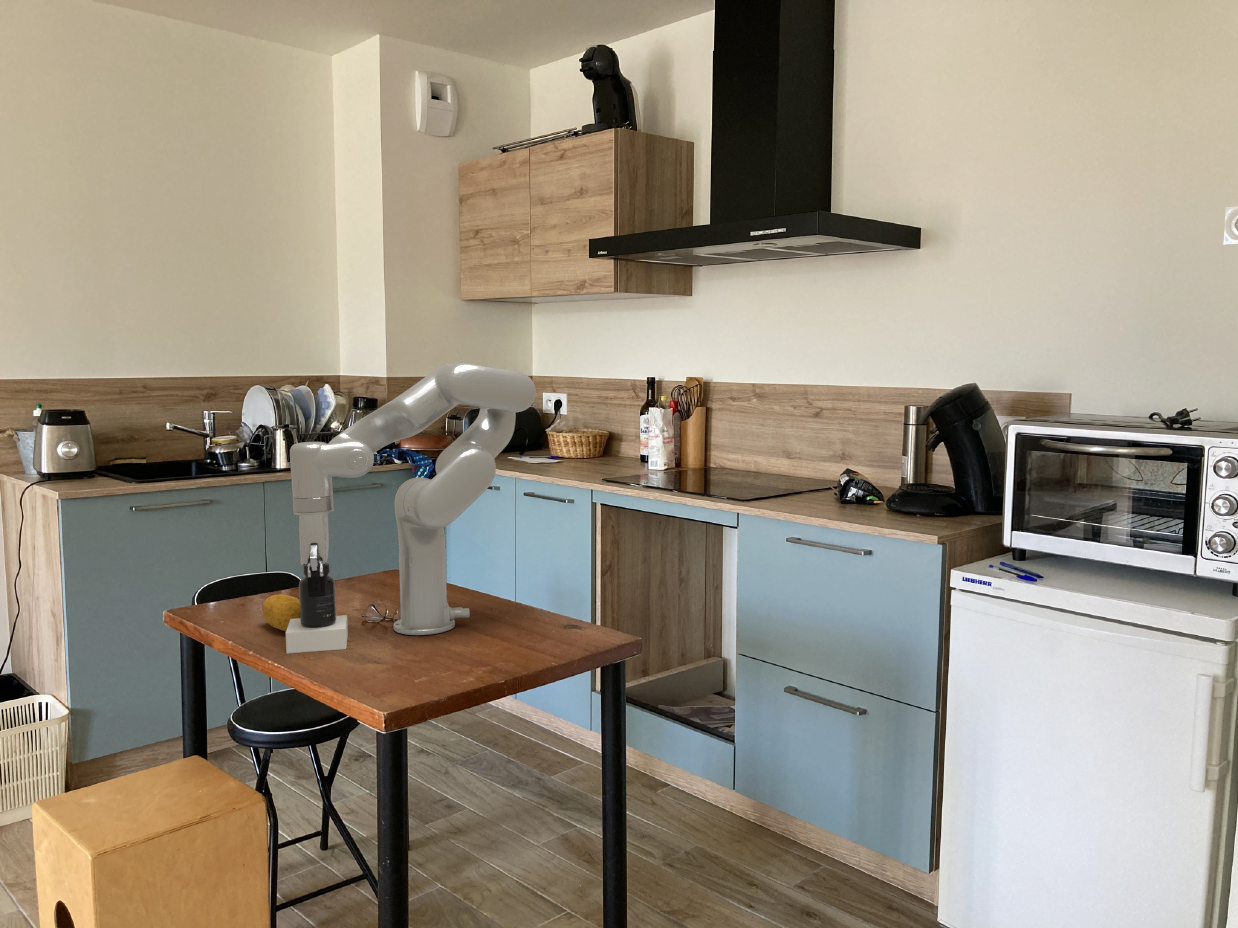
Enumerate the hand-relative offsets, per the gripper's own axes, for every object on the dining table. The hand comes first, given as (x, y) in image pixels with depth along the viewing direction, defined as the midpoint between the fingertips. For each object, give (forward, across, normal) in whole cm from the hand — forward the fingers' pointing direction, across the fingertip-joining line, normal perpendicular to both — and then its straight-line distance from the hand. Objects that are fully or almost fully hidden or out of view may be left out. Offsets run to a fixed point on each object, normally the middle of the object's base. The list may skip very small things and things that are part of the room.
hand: (318, 590), depth 188 cm
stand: (+11, 0, -1) cm, 11 cm away
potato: (+11, -13, -8) cm, 18 cm away
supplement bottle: (+7, 0, 0) cm, 7 cm away
